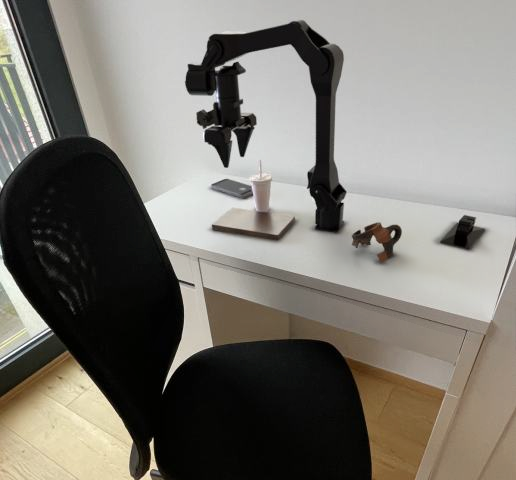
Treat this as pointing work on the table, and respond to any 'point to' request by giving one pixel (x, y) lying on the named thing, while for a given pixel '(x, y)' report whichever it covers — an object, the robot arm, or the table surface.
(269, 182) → the smoothie
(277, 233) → the board
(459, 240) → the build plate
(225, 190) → the phone
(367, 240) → the brown irregular piece
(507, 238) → the table surface
